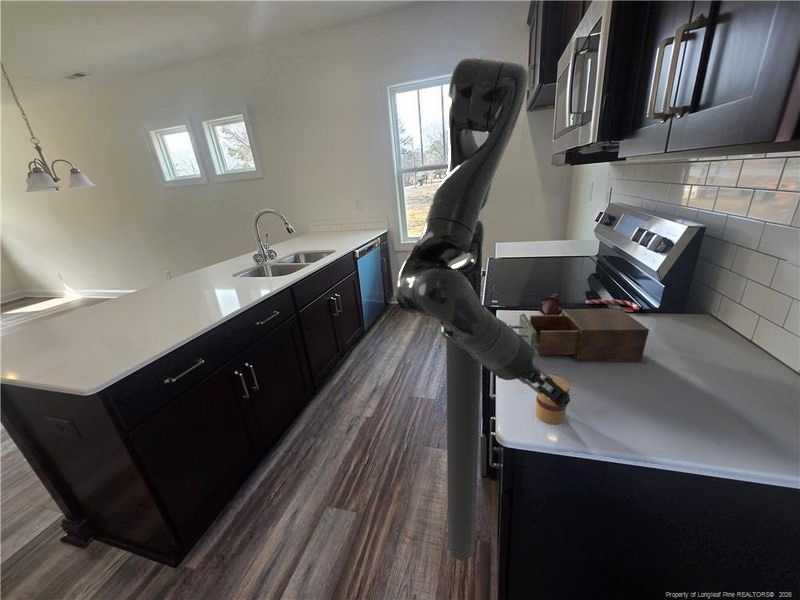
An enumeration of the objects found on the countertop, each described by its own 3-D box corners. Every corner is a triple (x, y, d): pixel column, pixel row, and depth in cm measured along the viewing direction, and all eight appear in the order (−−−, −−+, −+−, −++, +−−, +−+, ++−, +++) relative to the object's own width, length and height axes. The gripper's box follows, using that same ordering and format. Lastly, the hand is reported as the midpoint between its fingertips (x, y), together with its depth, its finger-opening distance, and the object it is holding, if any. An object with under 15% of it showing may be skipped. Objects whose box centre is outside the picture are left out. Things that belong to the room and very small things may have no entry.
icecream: (564, 308, 92) (569, 295, 104) (539, 298, 95) (547, 287, 107) (555, 328, 95) (561, 314, 107) (530, 318, 98) (539, 305, 110)
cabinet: (577, 361, 78) (582, 330, 74) (558, 337, 89) (562, 309, 86) (641, 361, 76) (649, 329, 73) (613, 336, 88) (619, 308, 84)
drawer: (512, 356, 80) (514, 332, 77) (502, 335, 90) (504, 313, 88) (586, 356, 78) (590, 332, 75) (568, 335, 88) (571, 312, 86)
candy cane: (585, 297, 112) (636, 300, 106) (584, 300, 112) (635, 304, 107) (587, 305, 105) (642, 309, 99) (587, 308, 106) (641, 313, 100)
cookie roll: (539, 424, 59) (543, 392, 56) (531, 405, 64) (534, 374, 61) (569, 425, 59) (574, 392, 56) (558, 406, 63) (563, 374, 61)
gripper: (544, 349, 45) (594, 395, 52) (487, 313, 57) (533, 354, 65) (510, 390, 45) (564, 430, 52) (460, 345, 58) (509, 382, 65)
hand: (547, 388), depth 58 cm, fingers open, 8 cm apart
